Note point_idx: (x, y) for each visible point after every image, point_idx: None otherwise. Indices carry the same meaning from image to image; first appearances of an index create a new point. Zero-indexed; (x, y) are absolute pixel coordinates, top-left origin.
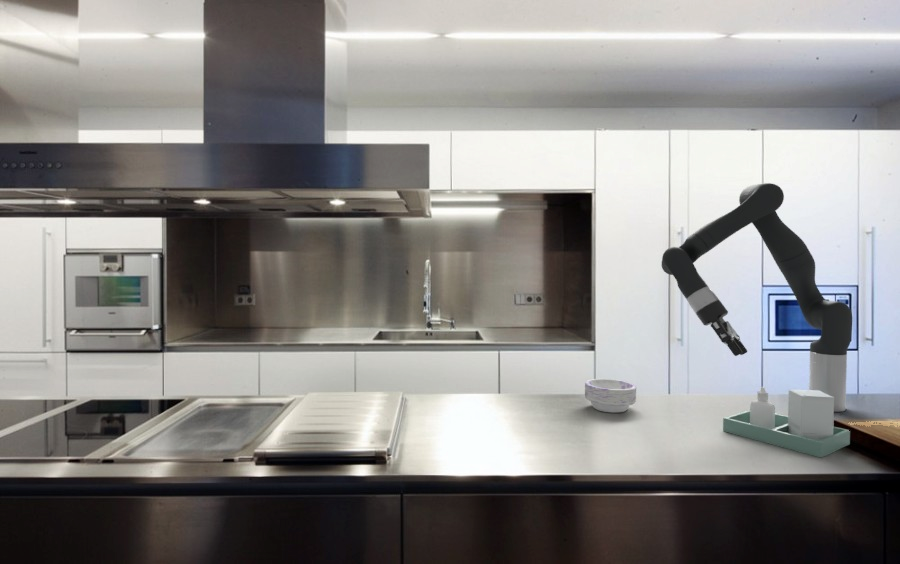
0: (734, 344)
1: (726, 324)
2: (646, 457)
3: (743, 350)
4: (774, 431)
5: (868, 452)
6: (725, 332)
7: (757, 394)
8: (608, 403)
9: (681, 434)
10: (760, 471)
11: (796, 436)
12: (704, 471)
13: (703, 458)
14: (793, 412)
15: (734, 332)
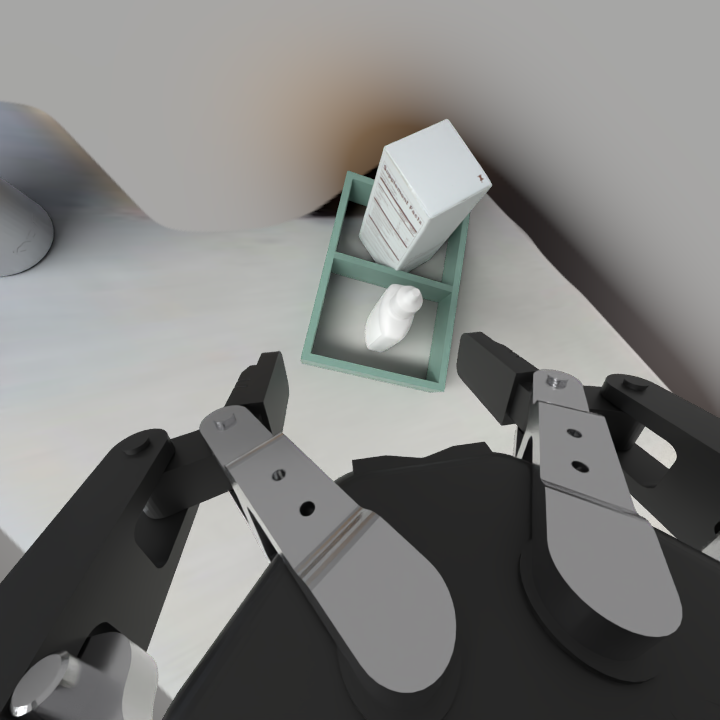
0: (529, 365)
1: (647, 541)
2: (644, 438)
3: (280, 373)
4: (458, 286)
5: (371, 170)
6: (713, 426)
7: (411, 314)
8: None
9: (509, 446)
10: (573, 293)
11: (464, 249)
12: (627, 352)
13: (587, 370)
14: (434, 238)
15: (300, 455)
